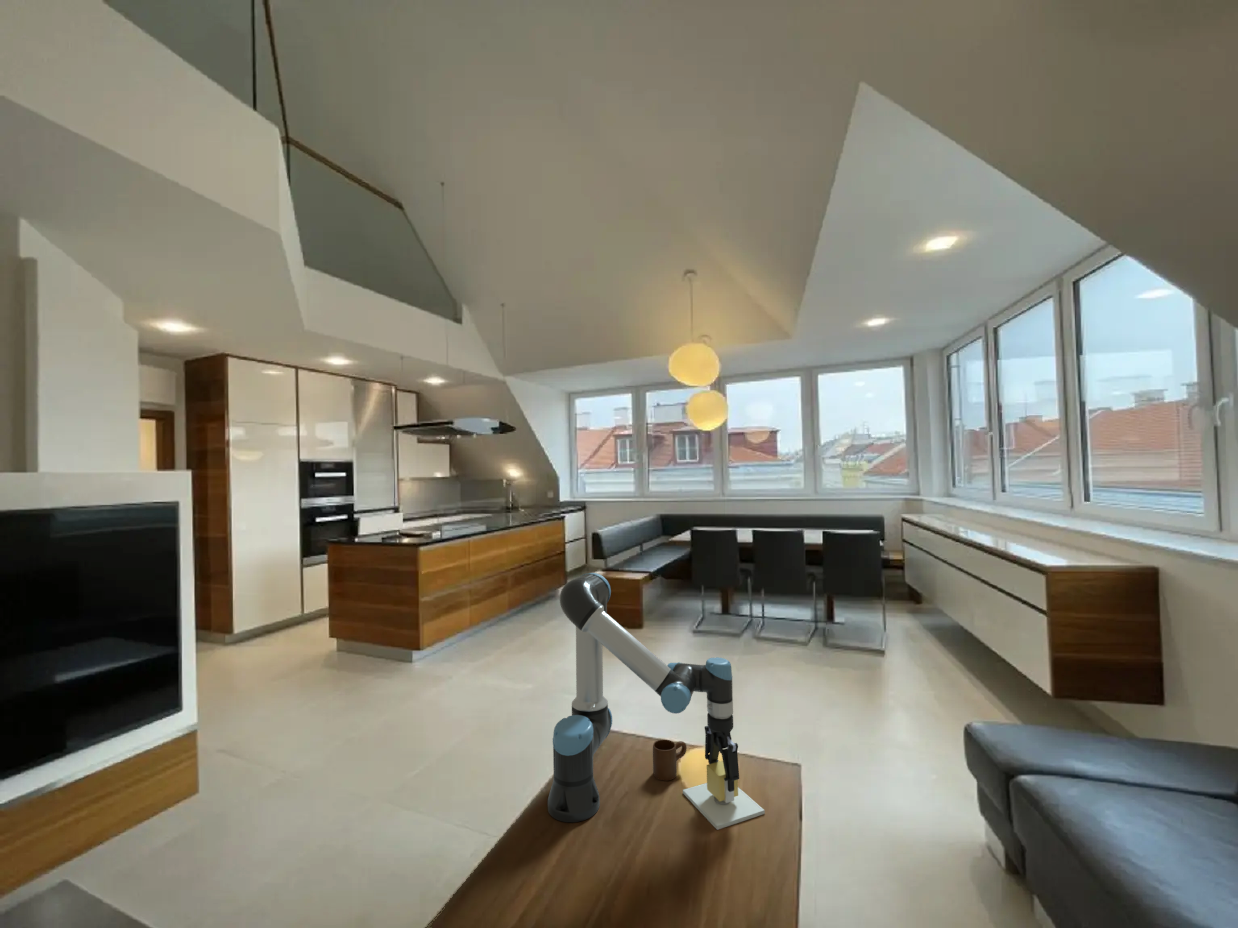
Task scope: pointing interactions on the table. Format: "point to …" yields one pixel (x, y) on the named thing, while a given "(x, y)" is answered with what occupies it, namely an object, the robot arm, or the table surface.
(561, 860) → the table surface
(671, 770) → the mug
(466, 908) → the table surface
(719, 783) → the pale yellow cube
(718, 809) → the white square plate
